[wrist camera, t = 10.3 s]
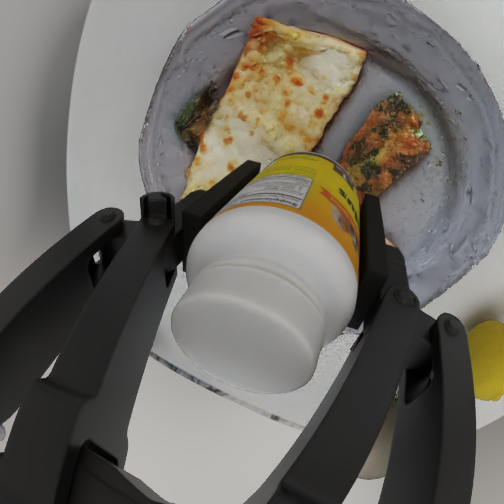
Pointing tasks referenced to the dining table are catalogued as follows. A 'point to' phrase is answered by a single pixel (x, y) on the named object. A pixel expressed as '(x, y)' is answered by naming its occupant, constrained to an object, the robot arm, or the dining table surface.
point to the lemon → (487, 359)
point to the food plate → (340, 119)
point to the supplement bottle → (273, 276)
